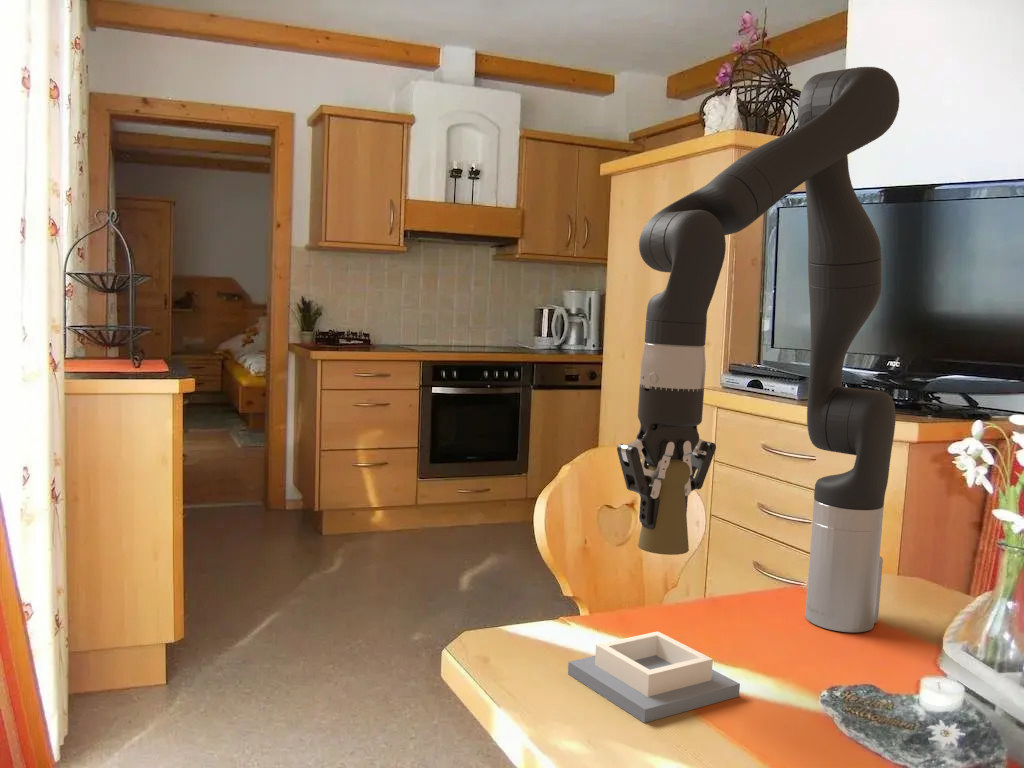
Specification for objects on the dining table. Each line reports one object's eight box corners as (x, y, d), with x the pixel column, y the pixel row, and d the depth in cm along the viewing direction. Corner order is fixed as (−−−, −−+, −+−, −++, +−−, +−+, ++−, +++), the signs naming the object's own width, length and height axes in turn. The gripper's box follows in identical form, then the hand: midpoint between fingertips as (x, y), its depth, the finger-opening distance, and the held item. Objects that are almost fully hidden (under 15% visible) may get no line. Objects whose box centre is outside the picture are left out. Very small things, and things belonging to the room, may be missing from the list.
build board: (657, 652, 118) (659, 622, 117) (739, 696, 106) (741, 662, 105) (567, 673, 110) (569, 641, 110) (644, 723, 98) (646, 686, 98)
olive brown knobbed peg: (688, 556, 107) (694, 463, 106) (635, 551, 109) (641, 459, 108) (689, 544, 113) (695, 455, 112) (639, 539, 115) (645, 451, 114)
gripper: (695, 379, 116) (685, 514, 117) (604, 379, 109) (595, 524, 110) (738, 386, 109) (728, 529, 111) (645, 386, 102) (635, 539, 104)
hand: (662, 525), depth 111 cm, fingers closed on olive brown knobbed peg, 3 cm apart
